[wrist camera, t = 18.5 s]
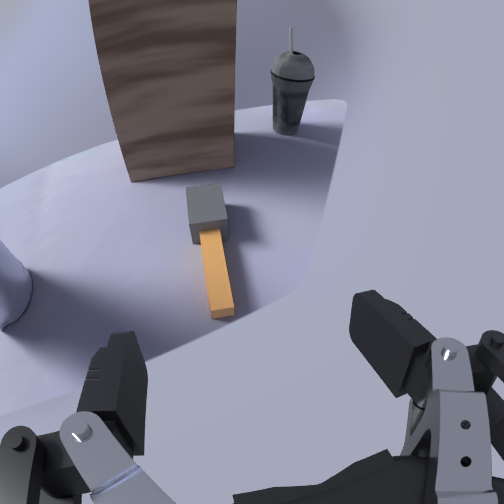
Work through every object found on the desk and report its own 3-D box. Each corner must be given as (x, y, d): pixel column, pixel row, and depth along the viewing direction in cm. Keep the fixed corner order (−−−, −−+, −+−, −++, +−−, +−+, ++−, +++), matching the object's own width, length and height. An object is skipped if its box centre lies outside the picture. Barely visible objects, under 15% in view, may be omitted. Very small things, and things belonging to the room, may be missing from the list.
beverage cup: (309, 139, 50) (329, 36, 33) (269, 139, 49) (279, 31, 32) (299, 118, 54) (314, 25, 37) (262, 118, 53) (270, 21, 36)
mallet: (243, 314, 32) (244, 298, 28) (203, 320, 31) (198, 305, 28) (221, 204, 40) (220, 182, 37) (189, 208, 40) (186, 187, 36)
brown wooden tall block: (233, 167, 44) (239, -56, 17) (131, 182, 42) (85, -33, 14) (224, 132, 50) (226, -51, 22) (136, 145, 47) (106, -34, 20)
